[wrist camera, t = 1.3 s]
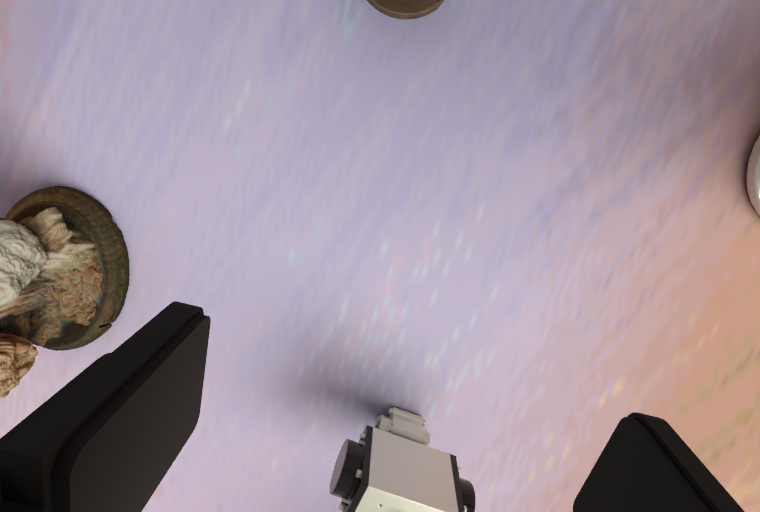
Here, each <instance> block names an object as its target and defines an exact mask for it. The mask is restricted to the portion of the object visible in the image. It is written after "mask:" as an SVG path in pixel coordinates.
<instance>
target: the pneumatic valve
mask: <svg viewBox="0 0 760 512" xmlns="http://www.w3.org/2000/svg"><path fill="white" fill-rule="evenodd" d="M388 414H390V415H389V417H387V416H385V415H380V416H379V417H378V419H377V422H376V425H375V428H374V427H371V426H368V425H367V426H366V428H365V430H364V432H363V433H362V434H361V436H360V440H359V442H355V441H352V440H349V439H347V440H346V441H345V442H344V444H343V446H342V448H341V450H340V452H339V455H338V458H337V461H336V464H335V467H334V471H333V474H332V479H331V484H330V494H331V495H334V496H337V497H340V498H342V502H341V503H340V506H339V509H340V510H342V512H474V511H475V492H474V488H473V485H472V484H471V482H470V481H468V480H465V479H462V478H459V472H460V467H458V466H457V461H456V456H454V455H451V454H448V453H445V452H442V451H440V450H437V449H434V448H431V447H428V446H429V442H430V433H429V432H428V431H427V430H424V429H422V426H423V425H425V420H423V419H422V417H421V416H418V415H415V414H413V413H410V412H407V411H404V410H401V409H399V408H396V407H393V408H389V411H388Z"/></svg>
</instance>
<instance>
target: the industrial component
mask: <svg viewBox="0 0 760 512" xmlns="http://www.w3.org/2000/svg"><path fill="white" fill-rule="evenodd" d="M367 1H368V2H369V3H370V4H371V5H372V6H373V7H374V8H376V9H377V10H379V11H380V12H382V13H383V14H385V15H388V16H390V17H394V18H398V19H415V18H419V17H422V16H425V15H428V14H430V13H431V12H433V11H435V10H436V9H438V7H439V6H440V5H441V3H443V1H444V0H367Z"/></svg>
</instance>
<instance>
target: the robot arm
mask: <svg viewBox="0 0 760 512" xmlns="http://www.w3.org/2000/svg"><path fill="white" fill-rule="evenodd" d="M747 190H748V194H749V198H750V201H751V203H752V205H753V207H754V209H755V210H756V212H757V213H758V214H759V215H760V135H759V137H758V139H757V141H756V142H755V144H754V147H753V150H752V153H751V155H750V158H749V163H748V169H747ZM209 330H210V317H209V316H205V315H204V312H203V309H202V308H201V307H197V306H193V305H189V304H185V303H181V302H172V303H171V304H170V305H168V306H167V307H166V308H165V309H164V310H162V311H161V312H160V313H159V314H158V315H156V316H155V317H154V318H153V319H152V320H150V321H149V322H148V323H147V324H146V325H144V326H143V327H142V328H141V329H140V330H138V331H137V332H136V333H135V334H134V335H132V336H131V337H130V338H129V339H128V340H126V341H125V342H124V343H123V344H122V345H120V346H119V347H118V348H117V349H116V350H114V351H113V352H112V353H108V354H105V355H103V356H102V357H100V358H98V359H97V360H96V361H95V362H94V363H92V364H91V365H90V366H89V367H87V368H86V369H85V370H84V371H83V372H81V373H80V374H79V375H78V376H76V377H75V378H74V379H73V380H72V381H70V382H69V383H68V384H67V385H65V386H64V387H63V388H62V389H61V390H59V391H58V392H57V393H56V394H54V395H53V396H52V397H51V398H50V399H48V400H47V401H46V402H45V403H43V404H42V405H41V406H40V407H39V408H37V409H36V410H35V411H34V412H32V413H31V414H30V415H29V416H28V417H26V418H25V419H24V420H23V421H21V422H20V423H19V424H18V425H17V426H15V427H14V428H13V429H12V430H10V431H9V432H8V433H7V434H6V435H4V436H3V437H2V438H1V439H0V512H141V511H142V510H143V508H144V507H145V505H146V504H147V502H148V500H149V499H150V497H151V496H152V494H153V493H154V491H155V490H156V488H157V487H158V485H159V483H160V482H161V480H162V479H163V477H164V476H165V474H166V473H167V471H168V470H169V468H170V466H171V465H172V463H173V462H174V460H175V459H176V457H177V456H178V454H179V453H180V451H181V449H182V448H183V446H184V445H185V443H186V442H187V440H188V439H189V437H190V435H191V434H192V432H193V431H194V429H195V427H196V424H197V422H198V418H199V414H200V406H201V398H202V389H203V381H204V372H205V364H206V355H207V347H208V338H209ZM573 512H744V511H743V509H742V508H741V507H740V506H739V505H738V504H737V502H736V501H735V500H734V499H733V498H732V497H731V496H730V494H729V493H728V492H727V491H726V490H725V489H724V487H723V486H722V485H721V484H720V483H719V482H718V481H717V479H716V478H715V477H714V476H713V475H712V474H711V472H710V471H709V470H708V469H707V468H706V467H705V466H704V464H703V463H702V462H701V461H700V460H699V459H698V457H697V456H696V455H695V454H694V453H693V452H692V450H691V449H690V448H689V447H688V446H687V445H686V444H685V442H684V441H683V440H682V439H681V438H680V437H679V435H678V434H677V433H676V432H675V431H674V430H673V429H672V427H671V426H670V425H669V424H668V423H667V422H666V421H665V420H663V419H661V418H658V417H653V416H649V415H645V414H641V413H631V414H630V415H628V417H624V418H622V419H621V421H620V422H619V424H618V425H617V427H616V429H615V431H614V432H613V434H612V436H611V438H610V439H609V441H608V443H607V445H606V446H605V448H604V450H603V452H602V453H601V455H600V457H599V459H598V460H597V462H596V464H595V466H594V467H593V469H592V471H591V473H590V474H589V476H588V478H587V479H586V481H585V483H584V485H583V486H582V488H581V490H580V492H579V493H578V495H577V497H576V499H575V501H574V504H573Z"/></svg>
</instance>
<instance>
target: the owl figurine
mask: <svg viewBox="0 0 760 512" xmlns="http://www.w3.org/2000/svg"><path fill="white" fill-rule="evenodd" d="M111 219H112V215H111V214H110V213H109V211H108V210H107V209H106V208H105V207H104V206H103V205H102V204H101V203H99V202H98V201H96V200H95V199H93V198H92V197H91V196H90V197H89V196H88V195H87V194H86V193H83V192H80V191H78V190H75V189H73V188H72V189H71V188H68V187H61V186H57V187H56V186H55V187H50V188H45V189H40V190H38V191H35V192H32V193H30V194H29V195H27V196H25V197H24V198H22V199H21V200H20V201H19V202H18V203H16V204H15V205H14V206H13V207H12V209H11V210H10V211H9V213H8V214H7V215H6V217H5V219H4V218H0V399H1V398H3V397H5V396H6V395H8V394H9V390H11V389H13V388H15V387H16V386H17V385H18V384H19V382H20V381H19V379H21V378H22V377H23V376H24V375H25V374H26V373H27V372H28V371H29V370H30V369H31V367H32V366H33V363H34V361H35V358H34V357H35V356H37V355H38V352H37V350H36V347H34V346H32V345H33V344H35V345H37V346H42V347H44V348H47V349H51V350H56V351H58V350H70V349H75V348H79V347H83V346H85V345H87V344H89V343H91V342H93V341H94V340H96V339H97V338H99V337H100V336H101V335H103V334H104V333H105V332H106V331H107V330H109V328H111V326H112V325H111V324H109V325H107V326H105V327H102V328H99V326H101V325H105V324H107V323H110V322H114V321H116V318H117V317H118V316H119V314H120V312H121V310H122V307H123V306H124V303H125V298H126V293H127V291H128V286H129V258H128V252H127V248H126V244H125V241H124V238H123V235H122V232H121V231H120V230H119V228H118V227H117V226H116V224H114V223H113V222H112V220H111Z"/></svg>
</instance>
